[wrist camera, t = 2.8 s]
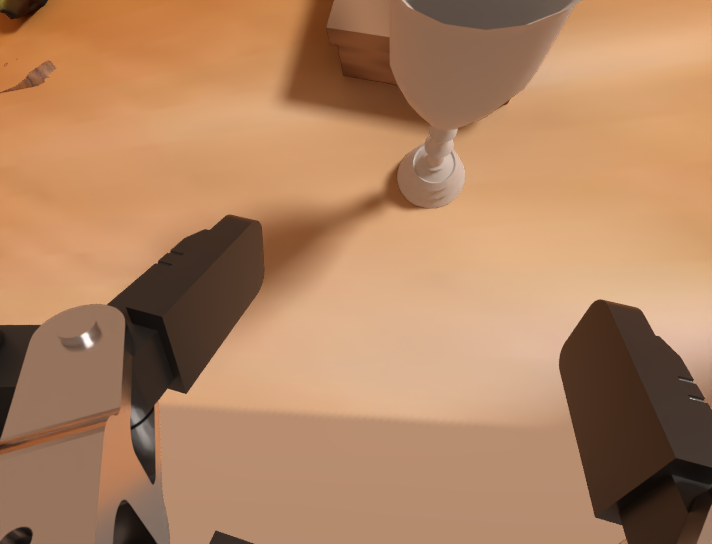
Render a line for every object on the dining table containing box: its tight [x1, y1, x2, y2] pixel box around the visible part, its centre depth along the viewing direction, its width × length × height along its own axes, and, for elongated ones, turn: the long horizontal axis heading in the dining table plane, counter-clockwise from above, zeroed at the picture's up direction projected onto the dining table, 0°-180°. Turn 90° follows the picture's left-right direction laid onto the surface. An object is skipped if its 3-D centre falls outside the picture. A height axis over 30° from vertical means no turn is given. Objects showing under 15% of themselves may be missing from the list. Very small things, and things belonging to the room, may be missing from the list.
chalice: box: [389, 0, 581, 208], centre depth 19 cm, size 7×7×18 cm
